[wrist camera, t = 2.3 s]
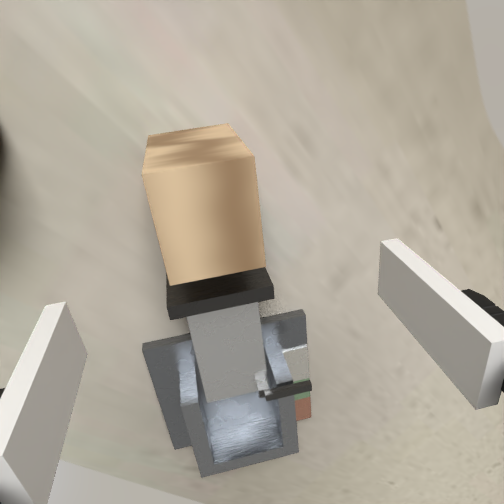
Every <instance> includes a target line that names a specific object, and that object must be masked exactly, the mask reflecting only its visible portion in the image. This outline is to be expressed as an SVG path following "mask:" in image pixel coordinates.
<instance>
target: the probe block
mask: <svg viewBox="0 0 504 504" xmlns="http://www.w3.org/2000/svg"><path fill="white" fill-rule="evenodd" d="M142 178H143V182H144V186H145V190H146V193H147V197H148V201H149V205H150V209H151V213H152V217H153V221H154V225H155V229H156V233H157V237H158V241H159V245H160V249H161V252H162V256H163V260H164V264H165V268H166V272H167V276H168V280H169V284H170V286H172V285H177V284H182V283H187V282H192V281H197V280H202V279H207V278H212V277H217V276H222V275H227V274H232V273H237V272H242V271H247V270H252V269H258V268H263V267H266V262H265V252H264V243H263V233H262V224H261V214H260V205H259V195H258V186H257V176H256V167H255V157H254V155H253V154H252V153H251V151H250V150H249V149H248V148H247V146H246V145H245V144H244V143H243V142H242V140H241V139H240V138H239V137H238V135H237V134H236V133H235V132H234V130H233V129H232V128H231V127H230V125H229V124H228V123H227V124H220V125H214V126H207V127H201V128H194V129H187V130H181V131H174V132H168V133H161V134H154V135H148V140H147V146H146V152H145V158H144V164H143V170H142Z"/></svg>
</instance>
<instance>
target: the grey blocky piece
mask: <svg viewBox="0 0 504 504" xmlns="http://www.w3.org/2000/svg"><path fill="white" fill-rule="evenodd" d="M166 276H167V272H166ZM269 299H274V288H273V284H272V282H271V279H270V277H269V275H268V273H267V271H266V268H265V267H263V268H258V269H252V270H247V271H242V272H237V273H232V274H227V275H222V276H217V277H212V278H207V279H202V280H197V281H192V282H187V283H182V284H177V285H172V286H170V284H169V280H168V276H167V310H168V313H169V317H170V320H174V319H179V318H183V317H187V321H188V326H189V330H190V334H191V338H192V342H193V346H194V350H195V355H196V359H197V363H198V367H199V371H200V375H201V380H202V384H203V388H204V392H205V396H206V400H207V403H209V402H213V401H218V400H222V399H226V398H230V397H234V396H239V395H243V394H247V393H251V392H256V391H258V394H259V398H264V397H265V399H266V402H267V401H271V400H275V399H279V398H283V397H287V396H292V395H296V394H300V393H304V392H308V391H312V385H311V382H310V380H307V381H302V382H298V383H294V384H290V385H285V386H281V387H277V388H273V389H269V386H268V379H267V371H266V362H265V354H264V346H263V338H262V330H261V322H260V314H259V306H258V302H260V301H265V300H269Z"/></svg>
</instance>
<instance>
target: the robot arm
mask: <svg viewBox="0 0 504 504" xmlns="http://www.w3.org/2000/svg"><path fill="white" fill-rule="evenodd" d="M378 295H379V296H380V297H381V298H382V300H383V301H384V302H385V303H386V304H387V306H388V307H389V308H390V309H391V310H392V311H393V313H394V314H395V315H396V316H397V317H398V319H399V320H400V321H401V322H402V323H403V324H404V326H405V327H406V328H407V329H408V330H409V332H410V333H411V334H412V335H413V336H414V337H415V339H416V340H417V341H418V342H419V343H420V345H421V346H422V347H423V348H424V349H425V350H426V352H427V353H428V354H429V355H430V356H431V358H432V359H433V360H434V361H435V362H436V363H437V365H438V366H439V367H440V368H441V369H442V371H443V372H444V373H445V374H446V375H447V376H448V378H449V379H450V380H451V381H452V382H453V384H454V385H455V386H456V387H457V388H458V389H459V391H460V392H461V393H462V394H463V395H464V397H465V398H466V399H467V400H468V401H469V402H470V404H471V405H472V406H473V407H474V408H475V410H477V409H481V408H485V407H489V406H493V405H497V404H498V402H499V398H500V395H501V391H503V392H504V311H503V310H502V309H500V308H499V307H498V306H495V304H494V303H493V302H492V301H490V300H489V299H488V298H486V297H485V296H484V295H482V294H479V293H477V292H475V291H473V290H470V289H467V290H462V291H460V290H459V289H458V288H457V287H455V286H454V285H453V284H452V283H451V282H449V281H448V280H447V279H446V278H445V277H443V276H442V275H441V274H440V273H439V272H437V271H436V270H435V269H434V268H433V267H431V266H430V265H429V264H428V263H427V262H425V261H424V260H423V259H422V258H421V257H419V256H418V255H417V254H416V253H415V252H413V251H412V250H411V249H410V248H409V247H407V246H406V245H405V244H404V243H403V242H401V241H400V240H399V239H398V238H395V239H390V240H385V241H381V244H380V262H379V280H378ZM87 355H88V354H87V351H86V349H85V346H84V344H83V342H82V339H81V337H80V334H79V332H78V330H77V327H76V325H75V322H74V320H73V318H72V315H71V313H70V310H69V308H68V306H67V303H66V302H61V303H55V304H50V305H46V306H45V308H44V310H43V312H42V314H41V316H40V318H39V320H38V322H37V324H36V326H35V328H34V330H33V332H32V334H31V336H30V339H29V341H28V343H27V345H26V347H25V349H24V351H23V353H22V355H21V357H20V359H19V361H18V363H17V365H16V367H15V370H14V372H13V374H12V376H11V378H10V380H9V382H8V384H7V386H6V388H3V389H0V504H47V503H48V499H49V495H50V492H51V488H52V484H53V481H54V477H55V473H56V469H57V466H58V462H59V458H60V455H61V451H62V447H63V444H64V440H65V436H66V432H67V429H68V425H69V421H70V418H71V414H72V410H73V406H74V403H75V399H76V395H77V392H78V388H79V384H80V380H81V377H82V373H83V369H84V366H85V362H86V358H87Z"/></svg>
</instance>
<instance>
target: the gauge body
mask: <svg viewBox="0 0 504 504" xmlns="http://www.w3.org/2000/svg"><path fill="white" fill-rule="evenodd" d="M260 322H261V330H262V338H263V346H264V354H265V362H266V371H267V379H268V386H269V389H273V388H277V387H281V386H285V385H290V384H294V383H298V382H302V381H307V380H309V363H308V346H307V334H306V315H305V313H304V311H303V309H302V310H297V311H292V312H288V313H283V314H278V315H274V316H269V317H264V318H260ZM142 351H143V354H144V357H145V361H146V364H147V367H148V370H149V373H150V376H151V379H152V382H153V385H154V388H155V391H156V394H157V397H158V400H159V403H160V406H161V409H162V412H163V415H164V418H165V421H166V424H167V427H168V430H169V434H170V437H171V440H172V443H173V446H174V449H179V448H183V447H187V446H191V445H192V447H193V450H194V454H195V457H196V460H197V464H198V467H199V471H200V474H201V478H202V477H206V476H210V475H214V474H217V473H221V472H225V471H229V470H233V469H237V468H241V467H244V466H248V465H252V464H256V463H260V462H264V461H267V460H271V459H275V458H279V457H283V456H287V455H290V454H294V453H298V452H299V448H298V436H297V423H296V421H298V420H302V419H306V418H310V417H311V402H310V391H308V392H304V393H300V394H296V395H292V396H287V397H283V398H279V399H275V400H271V401H267V402H266V399H265V397H264V398H259V394H258V391H256V392H251V393H247V394H243V395H239V396H234V397H230V398H226V399H222V400H218V401H213V402H209V403H207V400H206V396H205V392H204V388H203V384H202V380H201V375H200V371H199V367H198V363H197V359H196V355H195V350H194V346H193V342H192V338H191V334H185V335H180V336H176V337H171V338H166V339H162V340H157V341H152V342H148V343H143V347H142Z"/></svg>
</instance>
